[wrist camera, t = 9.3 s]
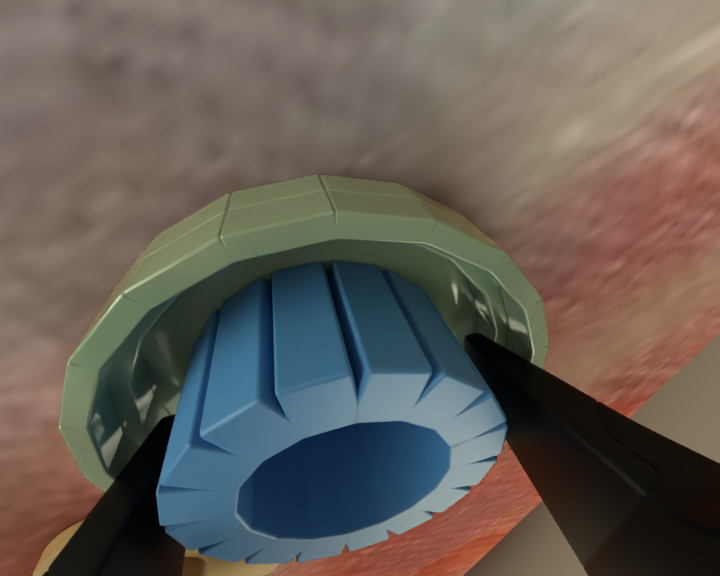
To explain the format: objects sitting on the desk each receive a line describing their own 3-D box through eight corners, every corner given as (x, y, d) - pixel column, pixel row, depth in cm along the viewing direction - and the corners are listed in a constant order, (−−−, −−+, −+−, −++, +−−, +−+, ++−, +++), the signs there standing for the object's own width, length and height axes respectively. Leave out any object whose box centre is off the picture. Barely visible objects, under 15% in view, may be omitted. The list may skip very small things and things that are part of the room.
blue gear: (439, 404, 13) (489, 506, 10) (245, 461, 12) (238, 589, 9) (442, 230, 8) (533, 323, 6) (135, 302, 8) (57, 454, 5)
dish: (479, 409, 15) (514, 468, 12) (213, 487, 13) (203, 567, 11) (517, 125, 8) (608, 151, 6) (-13, 233, 7) (-140, 315, 5)
